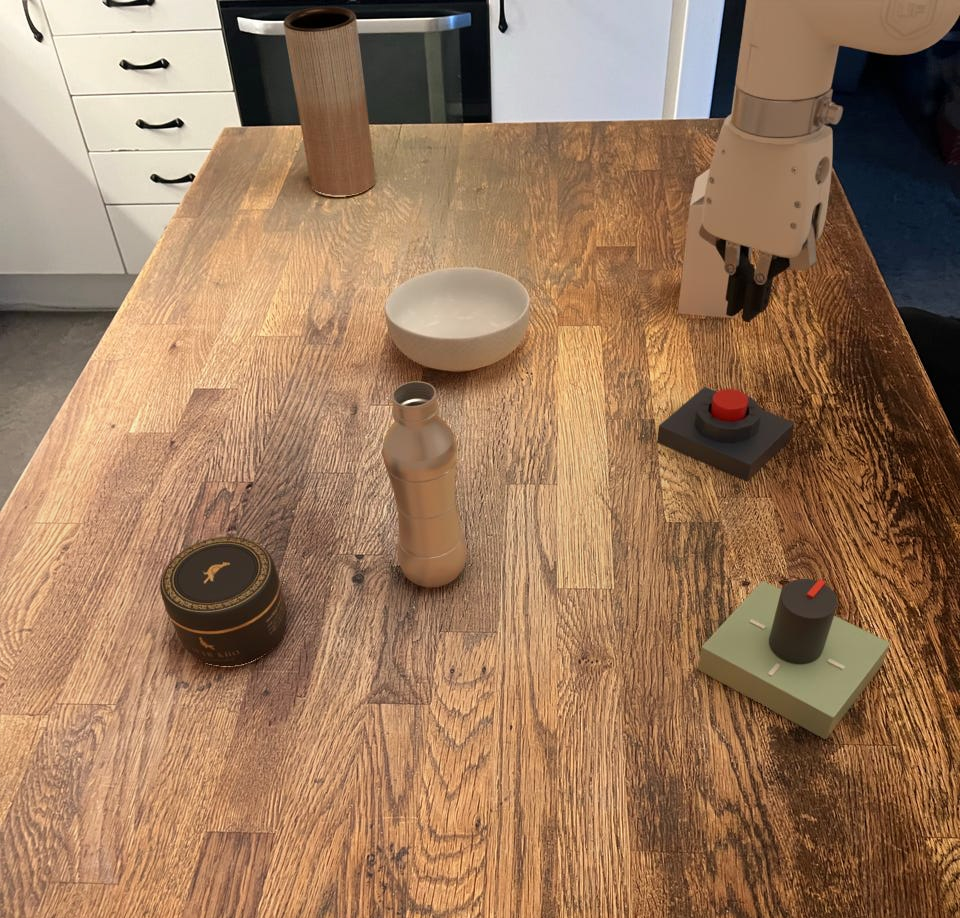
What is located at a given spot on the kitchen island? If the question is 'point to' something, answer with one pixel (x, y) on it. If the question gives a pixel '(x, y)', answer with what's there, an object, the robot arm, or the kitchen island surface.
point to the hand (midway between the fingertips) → (745, 312)
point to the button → (729, 405)
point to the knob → (802, 620)
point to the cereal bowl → (458, 317)
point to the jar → (225, 600)
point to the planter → (331, 99)
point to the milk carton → (702, 265)
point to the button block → (725, 436)
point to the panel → (792, 665)
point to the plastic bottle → (424, 487)
